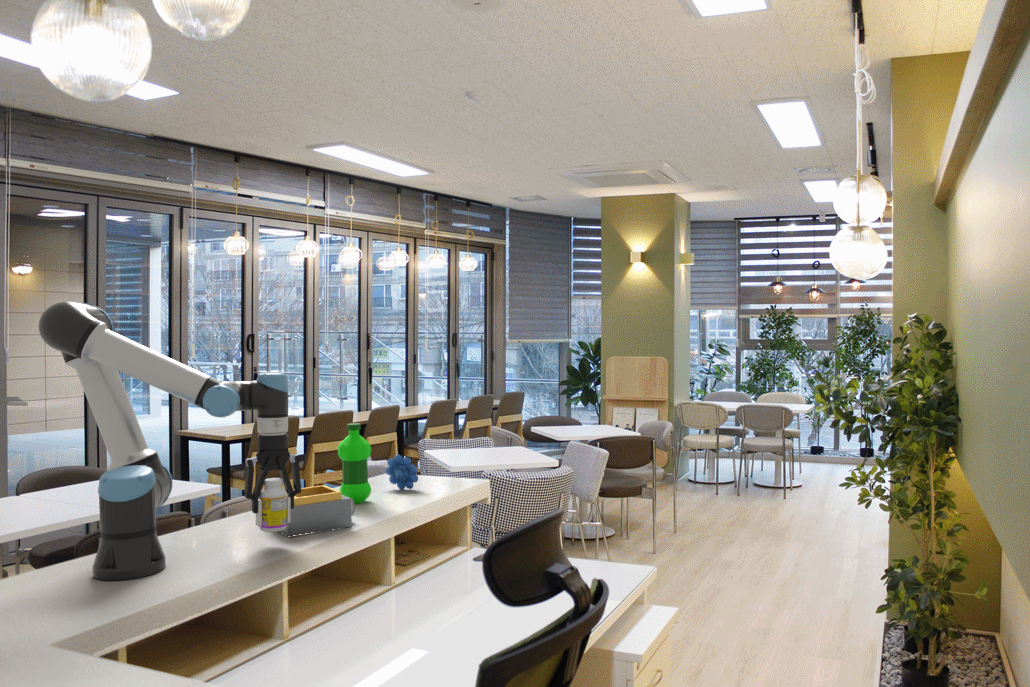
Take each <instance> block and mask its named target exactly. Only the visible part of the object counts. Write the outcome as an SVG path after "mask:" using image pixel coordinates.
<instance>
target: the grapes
mask: <svg viewBox="0 0 1030 687" xmlns="http://www.w3.org/2000/svg"><path fill="white" fill-rule="evenodd" d="M386 462H387V465H388V466H386V468H385V473H386V475H388V476H389V478H388V480H389V482H390V484H392V485H396V487H397V489H399V490H402V491H403V490H405V489H409V490H412V489H413V488H414V485H415V484H416V483H417V482H418V481H419V476H418V475H417V474H416V473H418V467H417V466H416V465H415V464H412V460H411V458H409V457H408V456H404V457H403V456H402V455H400V454H395V455H394V458H388V460H387V461H386ZM414 483H415V484H414Z"/></svg>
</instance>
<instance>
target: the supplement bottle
mask: <svg viewBox="0 0 1030 687" xmlns="http://www.w3.org/2000/svg"><path fill="white" fill-rule="evenodd" d="M283 485H284V484H283V479H282V478H281V477H270V478H266V479H265V482H264V485H263V488H262V491H261V493H260V496H259V499H260V500H262V526H261V527H259V529H260V531H261V532H264V533H276V532H278V531H282V530H284V529H286V527H287V492H286V489H285V487H283Z"/></svg>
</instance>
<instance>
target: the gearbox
mask: <svg viewBox="0 0 1030 687" xmlns="http://www.w3.org/2000/svg"><path fill="white" fill-rule="evenodd" d="M287 496H288V494H287ZM355 506H356V504H354V501H353V499H352V498H349V497H347V496H344V495H342V492H340V490H338V489H335V488H332V487H330V486H328V485H325V484H324V485H315V486H314V485H313V486H307V487H301V493H298V494H296V495H295V497H294V508H293V509H290V514H291V523H287V527H286V529H284V530H282V531H279V532H281V533H283V534H284V535H286V536H293V535H299V534H305V533H311V532H319V531H325V532H327V531H326V530H330V531H333V530H332V529H336V530H339V529H338V528H342V529H347V528H346V527H348V528H352V526H353V525H352V523H353V522H352V517H353V516H354V515H355V512H356V507H355ZM279 532H278V533H279ZM281 533H280V534H281ZM319 533H320V532H319ZM283 534H282V535H283ZM284 535H283V536H284ZM286 536H285V537H286Z"/></svg>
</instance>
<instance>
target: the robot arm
mask: <svg viewBox="0 0 1030 687" xmlns="http://www.w3.org/2000/svg"><path fill="white" fill-rule="evenodd" d="M38 321H39V322H38V330H39V331H38V332H39V335H40V337H41V339H42V340H43V342H44V343H45V344H46V345H48V346H49V347H50V348H52V349H54V350H55V351H58V352H61V355H62V358H63V360H64V363H65V365H66V366H68V367H71V368H73V369H74V370H76V371H75V372H76V373H77V376H78V379H79V381H80V383H81V387H82V389H83V392H84V394H85V397H86V399H87V402H88V404H89V407H90V410H91V413H92V415H93V417H94V420H95V422H96V425H97V427H98V430H99V433H100V435H101V437H102V440H103V442H104V445H105V448H106V450H107V452H108V456H109V458H110V464H109V465H108V468H107V471H105V472H103V473H102V474H101V476H100V477H99V479H98V480H99V481H98V487H97V493H98V500H99V501H98V504H99V507H98V508H99V528H100V531H99V532H100V534H99V535H100V541H99V545H98V549H97V551H96V552H97V553H96V555H95V557H94V561H93V564H92V577H93V578H94V579H96V580H100V581H123V580H132V579H138V578H142V577H147V576H150V575H154V574H156V573H158V572H160V571H163V570H164V569H165V568H166V555H165V553H164V550H163V548H162V545H161V542H160V539H159V538H158V534H157V509H159V508H160V507H161V506H163V505H164V504H165V503H166V502H167V501H168V499H169V497H170V496H171V493H172V490H173V476H172V473H171V472H170V471H169V469H168V467H166V466H165V465H163V464H162V462H161V460H160V457H159V454H158V452H157V450H155V449H152V448H150V447H149V446H148V444H147V441H146V439H145V437H144V434H143V430H142V429H141V426H140V424H139V421H138V419H137V416H136V414H135V411H134V409H133V406H132V403H131V401H130V400H131V399H130V398H129V395H128V392H127V390H126V388H125V385H124V382H123V379H122V377H121V374H120V373H123V374H125V375H126V376H130V377H131V378H133V379H136V380H138V381H141V382H142V383H145V384H148V385H150V386H151V387H154V388H157V389H158V390H160V391H163V392H165V393H168V394H170V395H172V396H175V397H177V398H179V399H181V400H183V401H185V402H188V403H189V404H192V405H194V406H197V408H201V409H203V410H205V412H206V413H207V414H208V415H209V416H212V417H215V418H226V417H230V416H232V415H233V414H234V413H235V412H244V411H246V412H247V411H252V412H253V411H257V415H256V417H257V430H256V431H257V433H258V435H257V452H256V455H255V456H254V457H250V458H245V459H244V463H245V467H246V470H245V479H244V480H245V481H244V491H243V492H244V493H243V497H244V498H246V499H248V500H251V512H252V513H253V514H255V525H256V526H257V527H259V528H260V527H261V526H262V500H260V493H261V491H262V490H263V489H264V482H265V479H267V476H268V474H269V472H272V471H273V470H274V471H278V473H279V475H280V478H282V479H283V484H282V485H283V488H284V489H285V490H286V492H287V494H288V496H287V523H291V514H290V509H293V508H294V497H295V495H296V494H298V493H301V488H302V484H301V482H302V481H301V474H300V462H301V455H298V454H296V453H295V454H294V453H293V454H292V453H291V452H290V451H289V435H288V431H289V383H288V382H289V381H288V379H289V378H288V375H287V374H285V373H283V372H261V373H258V374H257V378H256V380H251V381H249V380H248V381H246V380H243V381H242V380H241V381H240V380H239V381H235V380H232V381H231V380H230V381H226V380H219V379H218V378H214V377H212V376H211V375H209V374H206V373H203V372H201V371H200V370H198V369H195V368H192V367H190V366H188V365H187V364H184V363H182V362H179V361H178V360H175V359H174V358H170V357H169V356H166V355H164V354H162V353H161V352H160V353H159V352H158V351H156V350H153V349H152V348H149V347H147V346H145V345H142V344H141V343H138V342H137V341H134V340H131V339H129V338H127V337H125V336H123V335H121V334H119V333H117V332H114V326H113V322H112V320H111V317H110V316H109V315H108V313H107V312H106V311H105V310H103V309H102V308H100V307H99V306H97V305H95V304H92V303H87V302H74V301H61V302H58V303H54V304H52V305H50V306H49V307H47V308H46V309H45V310H44V311H43V313H42V314H41V315H40V318H39V320H38ZM288 460H289V462H290V465H291V474H292V475H291V476H292V483H291V479H290V477H289V475H288V470H287V467H286V464H287V463H288ZM257 462H258V464H259V465H260V466H259V472H258V475H257V478H256V482H255V485H254V474H255V466H256V463H257ZM253 486H254V487H253Z"/></svg>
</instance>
